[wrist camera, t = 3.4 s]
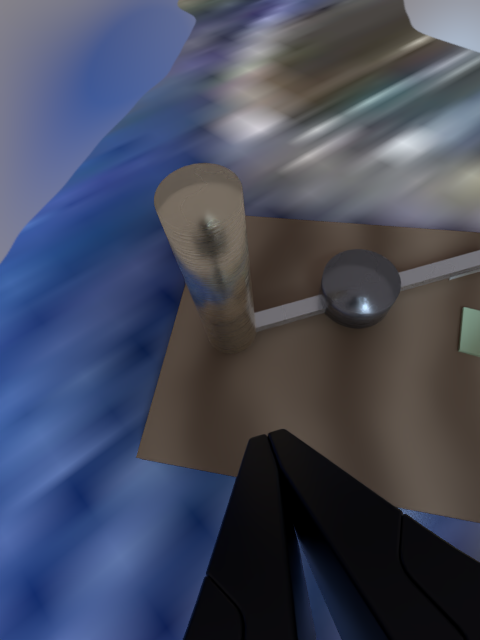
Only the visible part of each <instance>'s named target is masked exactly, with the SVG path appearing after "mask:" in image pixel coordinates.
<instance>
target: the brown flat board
mask: <svg viewBox="0 0 480 640" xmlns="http://www.w3.org/2000/svg"><path fill="white" fill-rule="evenodd" d="M245 222H246V232H247V242H248V252H249V263H250V273H251V283H252V293H253V304H254V313H256V312H260V311H263V310H267V309H270V308H274V307H278V306H281V305H285V304H288V303H292V302H296V301H299V300H303V299H306V298H310V297H313V296H317V295H318V294H319V288H320V284H321V280H322V275H323V271H324V268H325V266H326V264H327V263H328V262H329V261H330V259H331V258H333V257H334V256H335V255H337V254H339V253H341V252H344V251H347V250H352V249H364V250H369V251H373V252H376V253H378V254H380V255H382V256H384V257H385V258H387V259H388V260H389V261H390V262H391V263H392V264H393V265H394V266H395V267H396V269H397V271H398V273H399V272H403V271H407V270H410V269H414V268H417V267H421V266H424V265H428V264H432V263H435V262H439V261H442V260H446V259H450V258H453V257H457V256H460V255H464V254H467V253H471V252H475V251H478V250H480V233H477V232H463V231H449V230H435V229H421V228H407V227H394V226H380V225H366V224H352V223H338V222H324V221H310V220H297V219H283V218H269V217H255V216H245ZM279 429H286V430H288V431H289V432H290V433H292V434H293V435H295V436H296V437H298V438H299V439H300V440H302V441H303V442H305V443H306V444H307V445H309V446H310V447H312V448H313V449H315V450H316V451H317V452H319V453H320V454H322V455H323V456H324V457H326V458H327V459H329V460H330V461H332V462H333V463H334V464H336V465H337V466H339V467H340V468H341V469H343V470H344V471H346V472H347V473H349V474H350V475H351V476H353V477H354V478H356V479H357V480H358V481H360V482H361V483H363V484H364V485H366V486H367V487H368V488H370V489H371V490H373V491H374V492H375V493H377V494H378V495H380V496H381V497H383V498H384V499H385V500H387V501H388V502H390V503H391V504H392V505H394V506H395V507H398V508H403V509H408V510H413V511H419V512H424V513H429V514H435V515H440V516H445V517H450V518H456V519H461V520H466V521H472V522H477V523H480V269H478V270H475V271H471V272H468V273H464V274H460V275H457V276H453V277H450V278H446V279H443V280H439V281H436V282H432V283H429V284H425V285H421V286H418V287H414V288H411V289H407V290H404V291H400V293H399V295H398V297H397V299H396V301H395V302H394V304H393V305H392V307H391V308H390V310H389V311H388V313H387V315H386V316H385V317H384V318H383V319H382V320H381V321H380V322H379V323H377V324H375V325H373V326H370V327H367V328H360V329H358V328H349V327H345V326H342V325H340V324H338V323H336V322H334V321H333V320H331V319H330V318H329V317H328V316H327V315H326V314H325V313H322V314H319V315H315V316H312V317H308V318H304V319H301V320H297V321H294V322H290V323H287V324H283V325H280V326H276V327H272V328H269V329H265V330H262V331H258V332H256V336H255V339H254V341H253V343H252V344H251V345H250V346H249V347H248V348H247V349H246V350H244V351H242V352H239V353H236V354H226V353H222V352H220V351H218V350H217V349H215V348H214V347H213V346H212V344H211V343H210V341H209V338H208V336H207V333H206V331H205V328H204V326H203V323H202V321H201V319H200V316H199V314H198V311H197V309H196V306H195V304H194V302H193V299H192V297H191V294H190V292H189V289H188V287H187V284H185V288H184V291H183V295H182V298H181V302H180V305H179V309H178V312H177V316H176V319H175V323H174V326H173V330H172V333H171V337H170V340H169V344H168V347H167V351H166V354H165V358H164V361H163V365H162V369H161V372H160V376H159V379H158V383H157V386H156V390H155V393H154V397H153V400H152V404H151V407H150V411H149V414H148V418H147V421H146V425H145V428H144V432H143V435H142V439H141V442H140V446H139V449H138V453H137V456H136V458H140V459H144V460H149V461H154V462H159V463H165V464H170V465H175V466H181V467H186V468H191V469H196V470H202V471H207V472H212V473H218V474H223V475H228V476H233V477H237V475H238V472H239V468H240V465H241V462H242V459H243V456H244V453H245V450H246V447H247V444H248V441H249V439H250V438H252V437H255V436H259V435H262V434H266V435H267V436H268V433H269V432H272V431H276V430H279Z"/></svg>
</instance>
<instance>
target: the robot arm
mask: <svg viewBox="0 0 480 640" xmlns="http://www.w3.org/2000/svg"><path fill="white" fill-rule="evenodd" d="M294 528H295V529H294ZM295 531H296V532H295ZM296 534H297V536H296ZM297 537H298V539H299V542H300V544H301V547H302V549H303V552H304V554H305V556H306V559H307V561H308V563H309V565H310V568H311V570H312V572H313V575H314V577H315V579H316V581H317V584H318V586H319V588H320V591H321V593H322V595H323V598H324V600H325V602H326V604H327V607H328V609H329V611H330V614H331V616H332V618H333V620H334V623H335V625H336V627H337V630H338V632H339V634H340V636H341V639H342V640H480V562H478V561H476V560H475V559H473V558H472V557H470V556H468V555H467V554H465V553H463V552H462V551H460V550H458V549H457V548H455V547H454V546H452V545H451V544H449V543H448V542H446V541H445V540H443V539H442V538H440V537H439V536H437V535H436V534H434V533H433V532H431V531H430V530H428V529H427V528H425V527H424V526H422V525H421V524H420V523H418V522H417V521H415V520H414V519H413V518H411V517H410V516H408V515H407V514H404V515H403V512H402V511H401V510H400V509H398V508H397V507H395V506H394V505H392V504H391V503H390V502H388V501H387V500H385V499H384V498H383V497H381V496H380V495H378V494H377V493H375V492H374V491H373V490H371V489H370V488H368V487H367V486H366V485H364V484H363V483H361V482H360V481H358V480H357V479H356V478H354V477H353V476H351V475H350V474H349V473H347V472H346V471H344V470H343V469H341V468H340V467H339V466H337V465H336V464H334V463H333V462H332V461H330V460H329V459H327V458H326V457H324V456H323V455H322V454H320V453H319V452H317V451H316V450H315V449H313V448H312V447H310V446H309V445H307V444H306V443H305V442H303V441H302V440H300V439H299V438H298V437H296V436H295V435H293V434H292V433H290V432H289V431H288V430H286V429H279V430H276V431H272V432H269V433H268V436H267V435H266V434H262V435H259V436H255V437H252V438H250V439H249V441H248V444H247V447H246V450H245V453H244V456H243V459H242V462H241V465H240V468H239V472H238V475H237V478H236V481H235V484H234V487H233V490H232V493H231V496H230V499H229V503H228V506H227V509H226V512H225V515H224V518H223V521H222V524H221V527H220V531H219V534H218V537H217V540H216V543H215V546H214V549H213V552H212V555H211V558H210V562H209V565H208V568H207V571H206V577H204V579H203V583H202V586H201V589H200V592H199V595H198V598H197V601H196V604H195V607H194V610H193V613H192V615H191V618H190V621H189V624H188V627H187V630H186V632H185V635H184V638H183V640H316V635H315V630H314V624H313V619H312V614H311V608H310V603H309V598H308V592H307V587H306V582H305V576H304V571H303V565H302V560H301V555H300V550H299V545H298V540H297Z"/></svg>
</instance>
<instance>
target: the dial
mask: <svg viewBox="0 0 480 640" xmlns="http://www.w3.org/2000/svg"><path fill="white" fill-rule="evenodd" d="M154 206H155V209H156V211H157V214H158V216H159V219H160V221H161V224H162V226H163V228H164V231H165V233H166V236H167V238H168V241H169V243H170V246H171V248H172V250H173V253H174V255H175V258H176V260H177V263H178V265H179V267H180V270H181V272H182V275H183V277H184V280H185V282H186V284H187V287H188V289H189V292H190V294H191V297H192V299H193V302H194V304H195V306H196V309H197V311H198V314H199V316H200V319H201V321H202V323H203V326H204V328H205V331H206V333H207V336H208V338H209V341H210V343H211V344H212V346H213V347H214V348H215V349H217V350H218V351H220V352H222V353H226V354H236V353H239V352H242V351H244V350H246V349H247V348H248V347H249V346H250V345H251V344H252V343H253V341H254V339H255V336H256V332H258V331H262V330H265V329H269V328H272V327H276V326H280V325H283V324H287V323H290V322H294V321H297V320H301V319H304V318H308V317H312V316H315V315H319V314H322V313H325V314H326V315H327V316H328V317H329V318H330V319H331V320H333V321H334V322H336V323H338V324H340V325H342V326H345V327H349V328H358V329H360V328H367V327H370V326H373V325H375V324H377V323H379V322H380V321H381V320H382V319H383V318H384V317H385V316H386V315H387V313H388V311H389V310H390V308H391V307H392V305H393V304H394V302H395V301H396V299H397V297H398V295H399V293H400V291H404V290H407V289H411V288H414V287H418V286H421V285H425V284H429V283H432V282H436V281H439V280H443V279H446V278H450V277H453V276H457V275H460V274H464V273H468V272H471V271H475V270H478V269H480V250H478V251H475V252H471V253H467V254H464V255H460V256H457V257H453V258H450V259H446V260H442V261H439V262H435V263H432V264H428V265H424V266H421V267H417V268H414V269H410V270H407V271H403V272H399V273H398V271H397V269H396V267H395V266H394V265H393V264H392V263H391V262H390V261H389V260H388V259H387V258H385V257H384V256H382V255H380V254H378V253H376V252H373V251H369V250H364V249H352V250H347V251H344V252H341V253H339V254H337V255H335V256H334V257H333V258H331V259H330V261H329V262H328V263H327V264H326V266H325V268H324V271H323V275H322V280H321V284H320V288H319V294H318V295H317V296H313V297H310V298H306V299H303V300H299V301H296V302H292V303H288V304H285V305H281V306H278V307H274V308H270V309H267V310H263V311H260V312H256V313H254V304H253V293H252V283H251V273H250V263H249V252H248V242H247V232H246V222H245V211H244V201H243V191H242V185H241V182H240V180H239V178H238V177H237V176H236V175H235V174H234V173H233V172H232V171H231V170H229V169H227V168H225V167H223V166H220V165H216V164H210V163H199V164H192V165H188V166H185V167H182V168H180V169H178V170H176V171H174V172H172V173H171V174H169V175H168V176H167V177H166V178H165V179H164V180H163V181H162V182H161V183H160V184H159V186H158V188H157V190H156V192H155V196H154Z"/></svg>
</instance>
